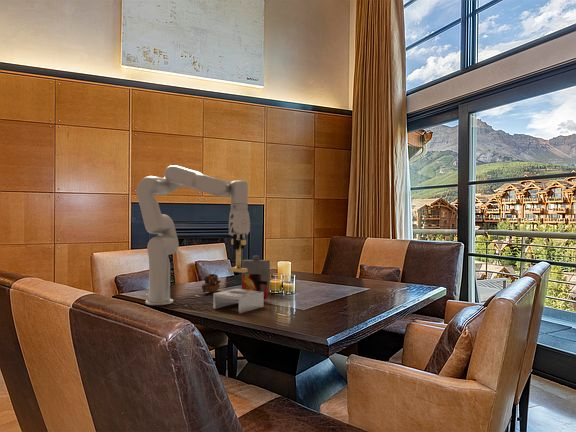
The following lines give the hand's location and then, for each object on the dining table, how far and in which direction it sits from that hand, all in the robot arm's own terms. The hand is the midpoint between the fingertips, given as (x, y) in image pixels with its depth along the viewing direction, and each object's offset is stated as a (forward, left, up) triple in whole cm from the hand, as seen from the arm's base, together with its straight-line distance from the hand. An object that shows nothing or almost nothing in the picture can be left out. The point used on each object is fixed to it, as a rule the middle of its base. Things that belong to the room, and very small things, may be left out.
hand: (238, 248), depth 189 cm
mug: (-5, +19, -27) cm, 33 cm away
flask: (-17, +34, -27) cm, 47 cm away
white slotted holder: (0, 0, -27) cm, 27 cm away
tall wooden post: (0, 0, -10) cm, 10 cm away
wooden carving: (-37, +21, -27) cm, 50 cm away
